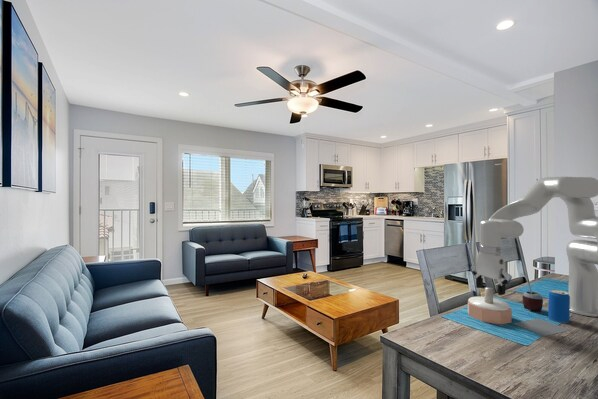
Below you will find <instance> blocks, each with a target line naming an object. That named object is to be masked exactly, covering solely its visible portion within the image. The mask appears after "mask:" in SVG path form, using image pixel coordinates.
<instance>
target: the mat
mask: <svg viewBox="0 0 598 399" xmlns="http://www.w3.org/2000/svg"><path fill="white" fill-rule="evenodd" d="M513 325H516V326H518V327H521V328H524V329H525V330H528V331H531V332H533V333H536V334H538V335H540V336H543V337H546V336H547V337H548V336H551V335H552V336H553V335H555V334H560V333H564V332H565V333H566V332H568V331H571V329H569V328H567V327H564V326H561V325H558V324H555V323H553V322H550V321H547V320H544V319H541V318H539V317H538V318H533V319H528V320H523V321H519V322H515V323H513Z"/></svg>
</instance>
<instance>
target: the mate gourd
mask: <svg viewBox="0 0 598 399" xmlns="http://www.w3.org/2000/svg"><path fill="white" fill-rule="evenodd" d="M522 275H523V276H524V278H525V279H526V283H527V285H528V290H529V291H525V292H524V293H523V294H522V299H521V300H522V304H523V308H524V309H526V310H529V311H530V312H531V313H532V312H534V311H535V312H539V313H541V311H542V308H543V307H544V306H543V303H544V300H543V296H542V295H541V294H540V293H538V292H536V291H532V289H531V288H532V287H531V284H530V280H529V278H528V277H527V276H526V274H522Z"/></svg>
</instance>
